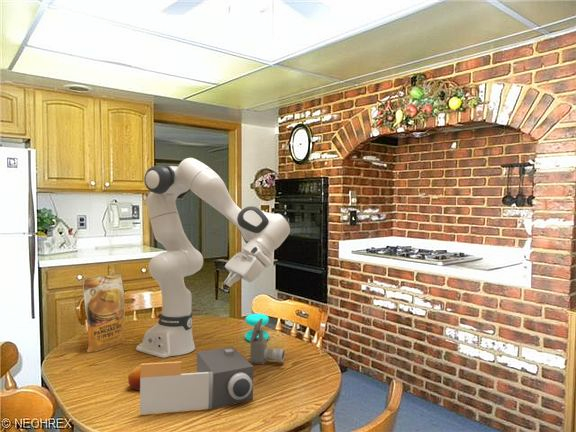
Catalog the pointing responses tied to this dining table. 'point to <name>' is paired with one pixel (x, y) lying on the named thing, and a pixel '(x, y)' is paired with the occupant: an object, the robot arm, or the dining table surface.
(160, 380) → the side door
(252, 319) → the turquoise spool
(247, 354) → the dining table surface
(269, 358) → the camera
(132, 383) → the fruit
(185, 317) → the robot arm
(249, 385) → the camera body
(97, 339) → the pancake mix bag
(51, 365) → the dining table surface
